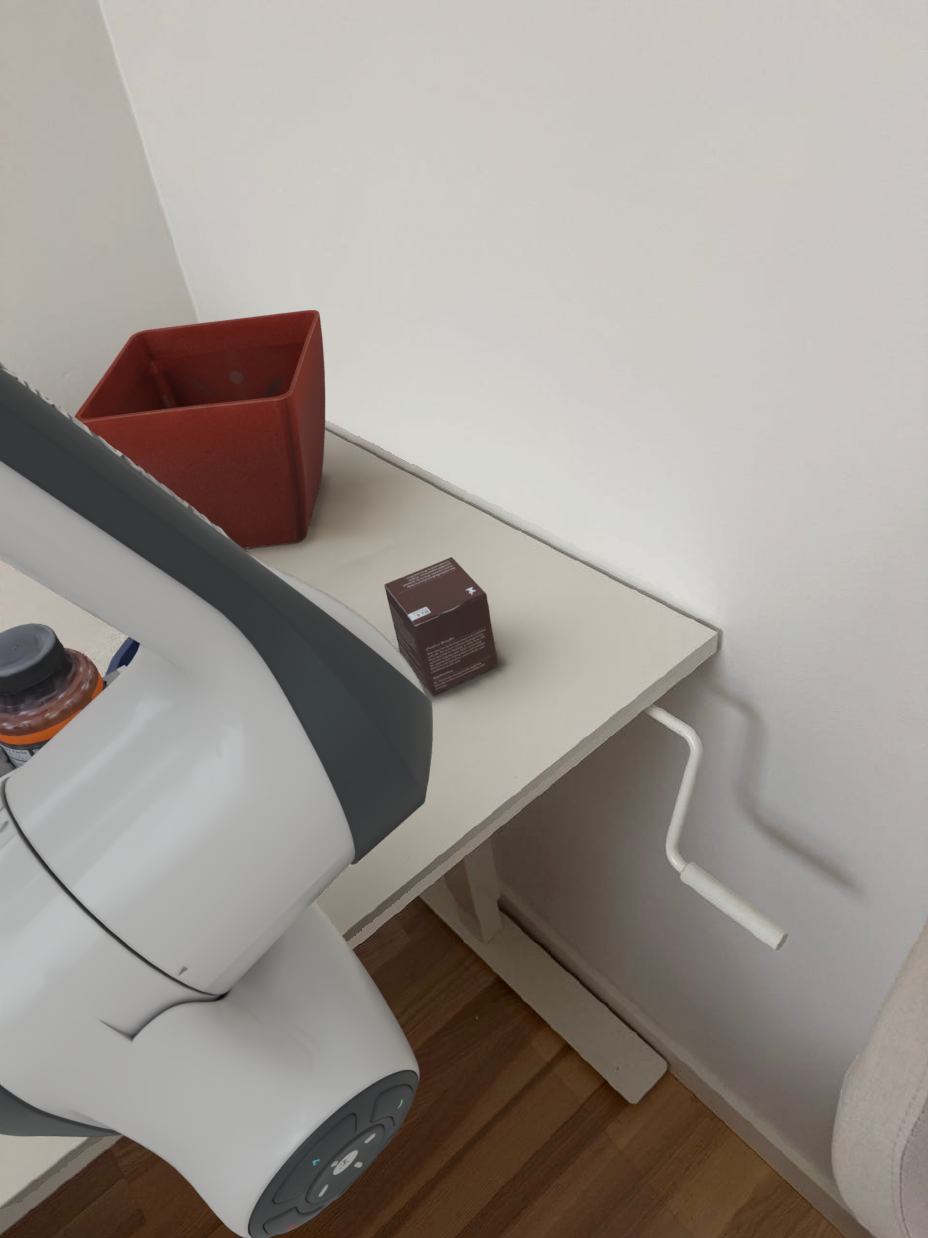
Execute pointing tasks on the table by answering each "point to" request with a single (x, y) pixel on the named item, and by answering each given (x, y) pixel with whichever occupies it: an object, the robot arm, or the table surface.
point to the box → (442, 624)
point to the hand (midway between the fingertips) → (52, 714)
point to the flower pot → (224, 419)
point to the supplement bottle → (40, 688)
